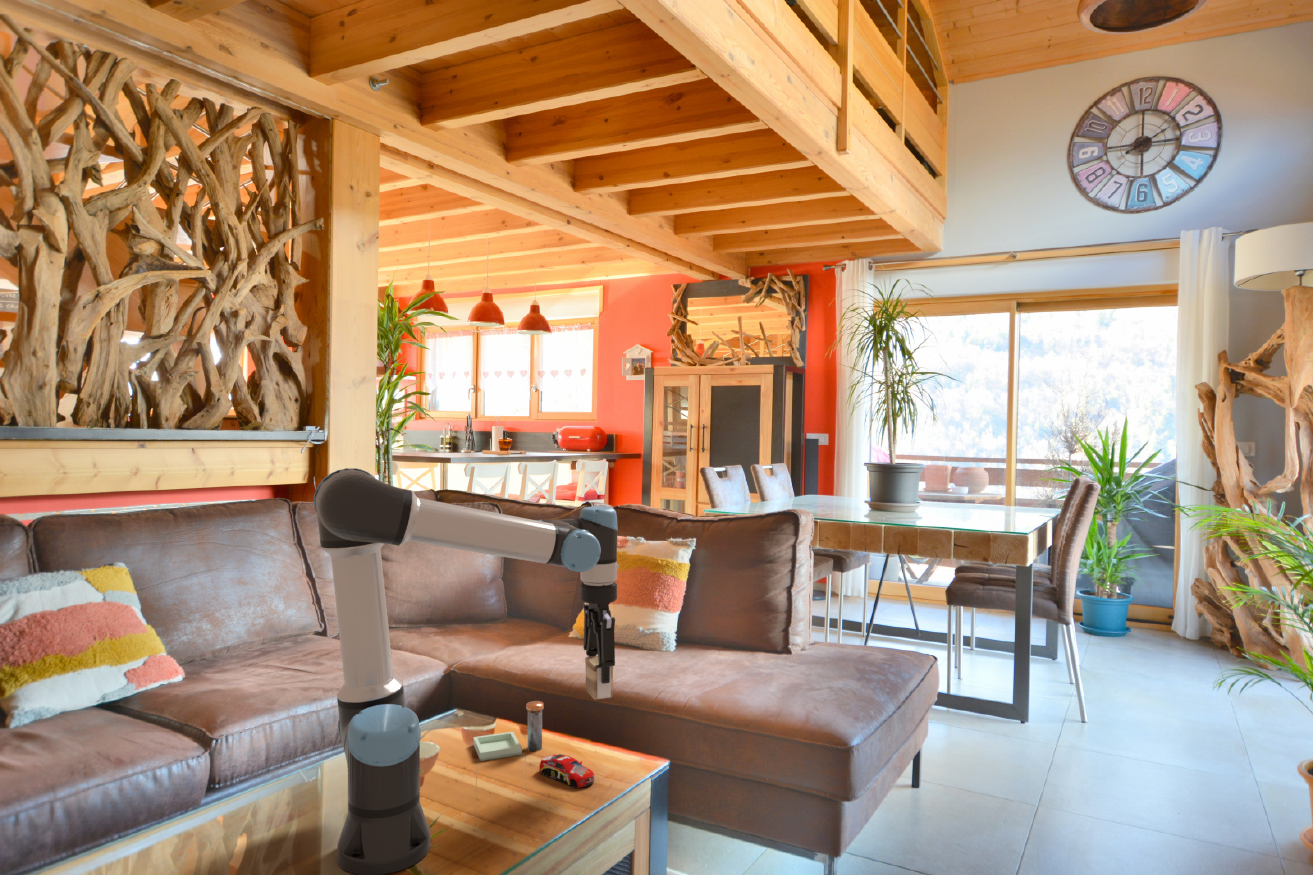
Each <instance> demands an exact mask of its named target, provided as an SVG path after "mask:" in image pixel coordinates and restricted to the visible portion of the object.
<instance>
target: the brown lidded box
mask: <svg viewBox="0 0 1313 875" xmlns="http://www.w3.org/2000/svg"><path fill="white" fill-rule="evenodd" d="M584 662H585V691H586V693H587V694H589V696H591V698H592V699H593V700H594V701H595V700H599V699H598V698H597V668H596V666H595V665H599V661H598V655H596V656H593V657H588V656H586V657H585V659H584ZM613 697H614V666H611V697H610V698H613ZM602 699H604V698H602ZM602 699H601V700H602Z"/></svg>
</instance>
